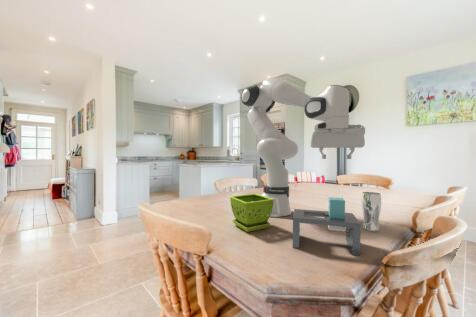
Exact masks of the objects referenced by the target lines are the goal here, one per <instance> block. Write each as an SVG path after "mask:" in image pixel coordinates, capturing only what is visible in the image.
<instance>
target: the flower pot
mask: <svg viewBox="0 0 476 317" xmlns="http://www.w3.org/2000/svg"><path fill="white" fill-rule="evenodd" d="M229 201H230V207H231V212H232V214H233V216H234V219H232V223H234V225H236V227H238V228H240V229H242V230H243V231H245V232H246V233H249V232H253V231H259V230H265V229H266V230H267V228H269V226H271V223H270V222H269V219H270V218H271V217H270V215H271V212H272V208H273V199H271V198H268V197H265V196H262V195H261V194H260V193H259V194H257V193H249V194H247V193H246V194H239V195H238V194H237V195H232V196H230V197H229ZM259 210H260V211H259Z"/></svg>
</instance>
